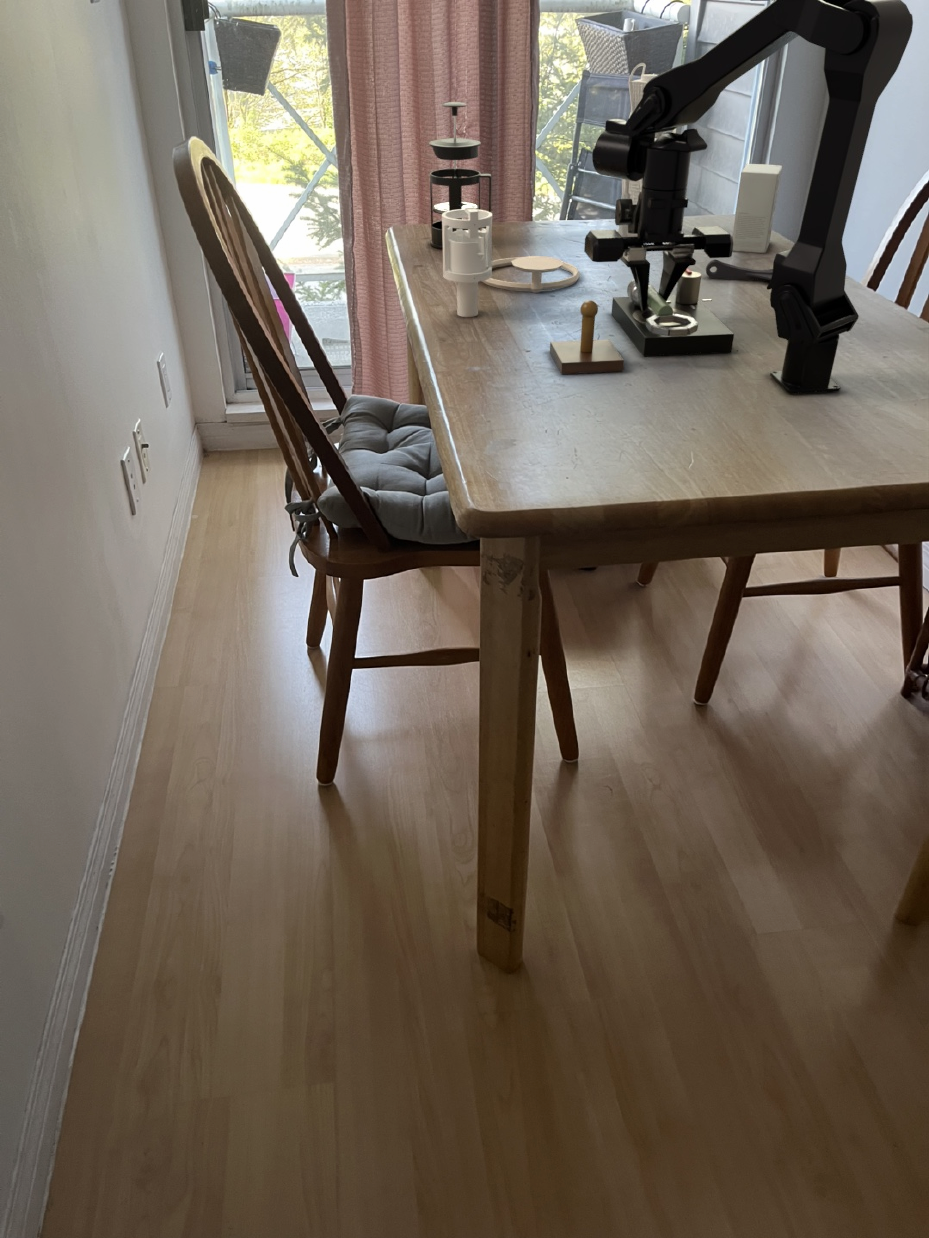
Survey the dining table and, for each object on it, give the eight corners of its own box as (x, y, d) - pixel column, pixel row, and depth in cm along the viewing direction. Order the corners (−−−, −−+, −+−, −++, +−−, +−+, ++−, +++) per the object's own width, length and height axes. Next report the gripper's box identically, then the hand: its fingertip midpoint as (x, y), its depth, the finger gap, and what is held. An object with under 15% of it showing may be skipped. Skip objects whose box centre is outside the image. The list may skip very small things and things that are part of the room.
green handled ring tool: (700, 347, 120) (704, 319, 118) (653, 349, 120) (656, 321, 118) (655, 296, 138) (657, 272, 136) (613, 298, 137) (615, 274, 135)
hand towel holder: (569, 236, 161) (596, 268, 144) (568, 262, 163) (594, 297, 146) (470, 238, 159) (486, 271, 142) (470, 265, 162) (486, 301, 145)
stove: (743, 352, 126) (747, 332, 124) (643, 356, 125) (645, 336, 123) (701, 310, 141) (703, 292, 139) (610, 314, 139) (612, 295, 138)
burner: (699, 325, 127) (699, 324, 127) (641, 328, 126) (641, 326, 126) (681, 307, 134) (681, 306, 134) (626, 309, 133) (626, 308, 133)
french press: (424, 250, 170) (420, 106, 157) (428, 237, 178) (425, 99, 164) (490, 251, 169) (491, 106, 156) (491, 238, 177) (492, 99, 164)
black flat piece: (704, 265, 161) (706, 248, 159) (794, 269, 158) (797, 252, 157) (705, 290, 149) (708, 272, 147) (803, 295, 147) (807, 276, 145)
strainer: (451, 323, 136) (449, 213, 128) (438, 309, 142) (436, 202, 133) (497, 318, 138) (499, 209, 129) (483, 304, 143) (483, 199, 135)
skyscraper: (605, 232, 180) (618, 63, 164) (646, 230, 181) (662, 61, 165) (619, 243, 173) (634, 67, 157) (661, 241, 174) (680, 66, 158)
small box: (734, 240, 175) (746, 163, 167) (770, 243, 173) (783, 165, 165) (729, 251, 168) (740, 171, 161) (765, 253, 167) (779, 173, 159)
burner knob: (700, 304, 135) (704, 274, 132) (679, 305, 134) (682, 275, 132) (693, 297, 137) (697, 268, 135) (672, 298, 137) (676, 269, 135)
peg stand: (623, 371, 120) (628, 309, 116) (561, 374, 120) (564, 311, 115) (608, 350, 127) (613, 290, 122) (549, 352, 126) (552, 292, 121)
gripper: (714, 173, 128) (699, 290, 137) (579, 177, 126) (572, 295, 135) (743, 189, 119) (724, 313, 128) (598, 194, 117) (589, 319, 126)
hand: (651, 309), depth 130 cm, fingers closed on green handled ring tool, 2 cm apart
